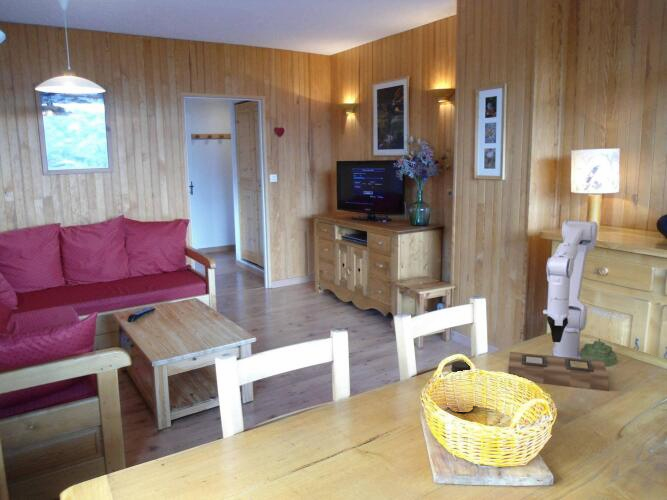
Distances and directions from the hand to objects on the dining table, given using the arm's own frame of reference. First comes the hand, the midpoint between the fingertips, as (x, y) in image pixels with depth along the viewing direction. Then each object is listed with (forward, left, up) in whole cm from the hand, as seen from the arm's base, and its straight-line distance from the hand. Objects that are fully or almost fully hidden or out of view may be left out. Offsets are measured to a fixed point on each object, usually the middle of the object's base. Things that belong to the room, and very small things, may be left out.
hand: (556, 341), depth 155 cm
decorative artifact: (-13, +13, -10) cm, 21 cm away
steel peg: (+4, -6, -9) cm, 12 cm away
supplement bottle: (+31, -24, -10) cm, 40 cm away
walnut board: (+4, 0, -9) cm, 10 cm away
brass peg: (+4, +6, -9) cm, 12 cm away
